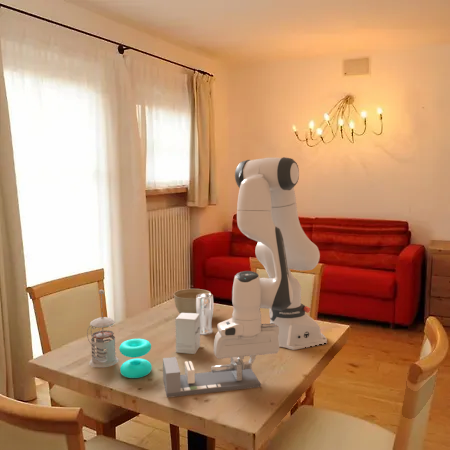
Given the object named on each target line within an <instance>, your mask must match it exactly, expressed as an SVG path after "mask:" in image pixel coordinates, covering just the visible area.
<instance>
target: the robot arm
mask: <svg viewBox="0 0 450 450" xmlns="http://www.w3.org/2000/svg"><path fill="white" fill-rule="evenodd" d="M299 177H300V169H299V165H298V162H296V160H294V159H293V158H289V157H287V156H286V157H264V158H257V159H255V158H254V159H247V160H243V161H241V162H239V163H238V165H237V166H236V168H235V171H234V180H235V183H236V185H237V187H238V188H239V190H238V195H237V204H236V223H237V228H238V229H239V231H240V232H241V233H242V234H243V235H244V236H246V237H247V238H248V239H250V240H253V241H255V242H257V244H256V246H255V248H254V249H255V250H254V251H255V252H254V253H255V257H256V259H257V261H259V263H260V264H261V265H262V266H263V268H264V269H265V272H266V273H267V276H268V277H260V275H259V274H258V272H256V271H252V270H244V271H240V272H237V273H236V274H235V275H234V278H233V284H232V289H231V302H232V306H233V309H232V310H233V311H232V314H231V317H230V318H229V319H225V320H223V321H221V322H218V323H217V325H216V326H217V332H216V334H215V336H214V340H213V354H214V356H215V357H216V359H231V357H238V358H239V360H240V361H241V363H242V370H245V369H252V368H253V363H254V362H255V360H256V356H261V355H274V354H278V352H279V351H280V348H286V349H289V350H292V351H294V350H295V351H296V350H300V349H306V348H311V347H310V346H312V347H316V346H315V345H317V346H320V345H319V344H322V345H325V344H324V343H326V344H328V338H327V337H326V336H325V335H324V334H323V333H322V331H321V327H320V325H319V323H318V322H317V321H316V320H314V318H312V317H311V316H310V315H308V313H310V312H311V308H310V307H309V306H306V305H305V304H303V303H302V286H301V282H300V281H299V280H298V279H297V278H296V276H294V275H293V274H292V272H291V270H294V271H312V270H313V269H315V268H316V267H317V265H319V264H318V263H319V262H320V258H321V257H320V256H321V253H320V250H319V247H318V246H317V245H316V244H315V243H314V242H312V241H311V239H310V238H309V237H308V235H307V234H306V233H305V231H304V229H303V227H302V225H301V223H300V220H299V212H298V207H297V197H296V192H295V191H296V190H295V186H296V185H297V184H298V183H299ZM261 309H269V319H270V320H269V323H262V313H261ZM305 347H306V348H305ZM245 357H249V359H248V361H244V359H245Z"/></svg>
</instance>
